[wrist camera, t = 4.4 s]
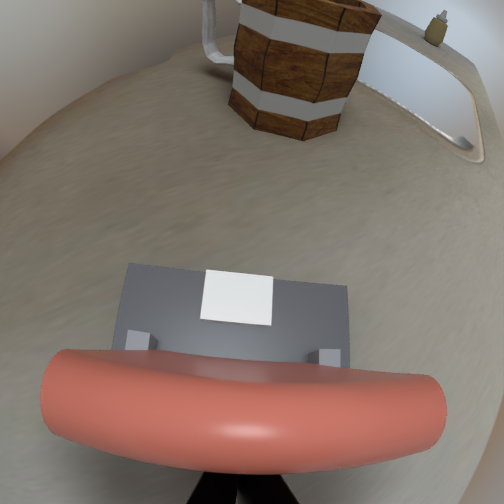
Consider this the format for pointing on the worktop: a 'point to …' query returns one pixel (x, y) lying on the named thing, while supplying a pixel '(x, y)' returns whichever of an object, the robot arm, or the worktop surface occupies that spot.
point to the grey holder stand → (233, 316)
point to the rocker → (238, 411)
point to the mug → (293, 61)
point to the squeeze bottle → (436, 29)
